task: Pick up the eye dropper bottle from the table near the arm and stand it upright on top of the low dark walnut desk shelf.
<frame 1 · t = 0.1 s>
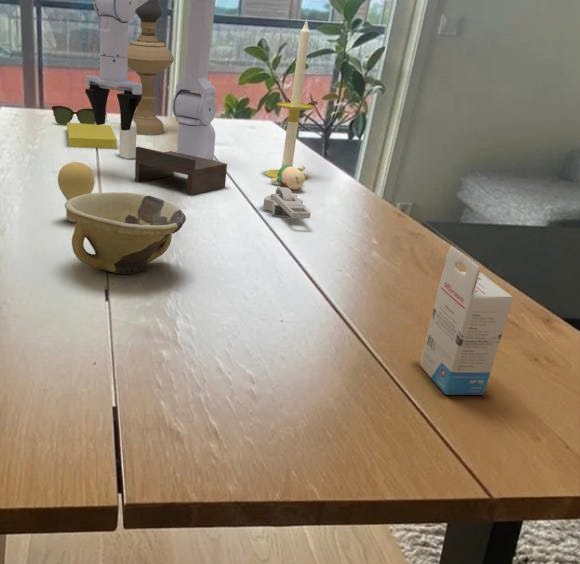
hand: (112, 127, 166), 10 cm above the table, tool pointing down, fingers open, 7 cm apart
light bulb: (76, 221, 139), on the table
zipper pull: (287, 218, 150), on the table
shelf: (179, 184, 169), on the table
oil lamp: (144, 132, 224), on the table
ink box: (449, 381, 91), on the table
flat olive board: (90, 140, 208), on the table
sunglasses: (81, 123, 230), on the table
bowl: (124, 269, 118), on the table
candle: (285, 176, 184), on the table
toy figurine: (287, 187, 173), on the table
eye dropper bottle: (127, 157, 191), on the table
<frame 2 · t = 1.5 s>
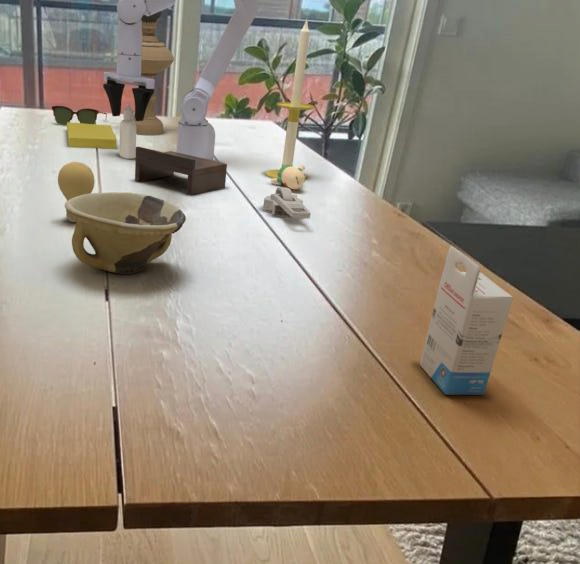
hand: (127, 118, 185), 9 cm above the table, tool pointing down, fingers open, 7 cm apart
nothing on the table moved.
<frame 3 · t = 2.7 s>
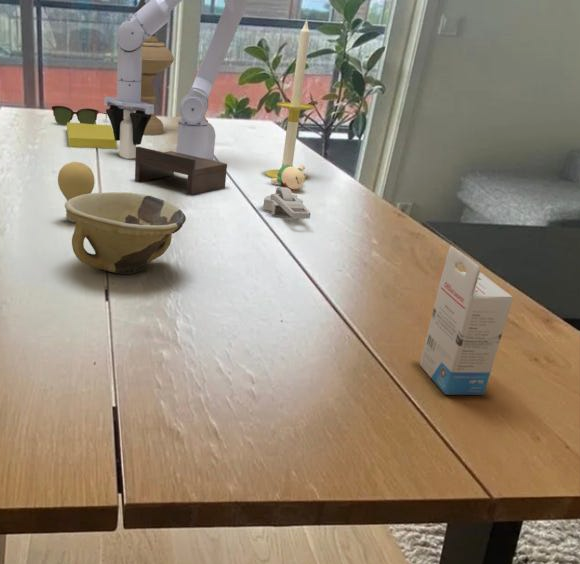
hand: (127, 142, 189), 3 cm above the table, tool pointing down, fingers closed on eye dropper bottle, 5 cm apart
eye dropper bottle: (127, 157, 191), on the table, touching gripper
everything else where it was.
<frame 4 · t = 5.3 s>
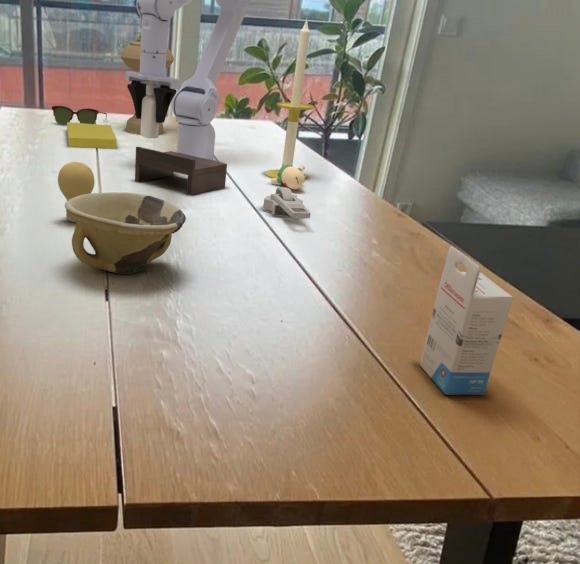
hand: (150, 120, 175), 10 cm above the table, tool pointing down, fingers closed on eye dropper bottle, 5 cm apart
eye dropper bottle: (149, 137, 177), point 7 cm above the table, touching gripper
everything else where it was.
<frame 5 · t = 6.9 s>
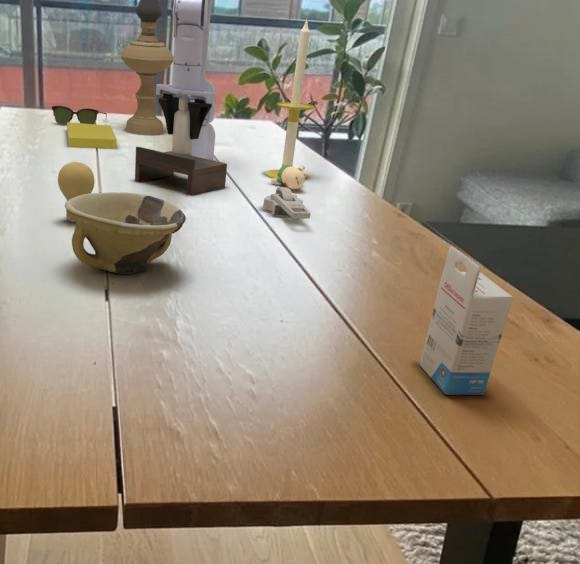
hand: (182, 136, 163), 10 cm above the table, tool pointing down, fingers closed on eye dropper bottle, 5 cm apart
eye dropper bottle: (181, 154, 165), point 6 cm above the table, touching gripper
everything else where it was.
when the fingers open (8 cm above the table, at t = 7.9 s): eye dropper bottle stays where it is, resting on shelf.
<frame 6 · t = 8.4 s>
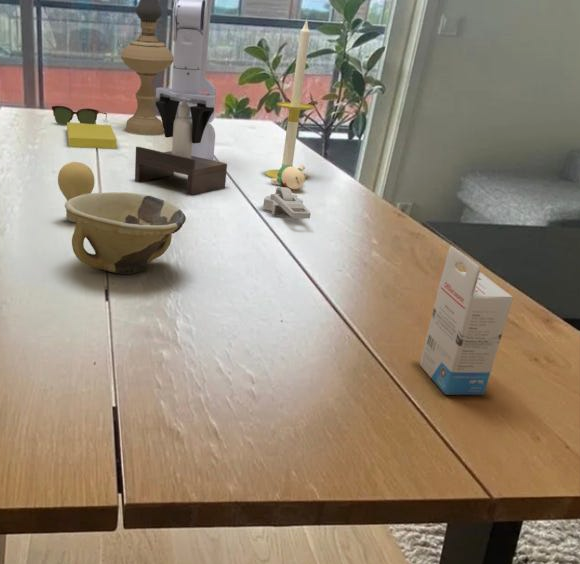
hand: (182, 139, 164), 9 cm above the table, tool pointing down, fingers open, 7 cm apart
eye dropper bottle: (181, 161, 166), point 5 cm above the table, touching shelf
everything else where it was.
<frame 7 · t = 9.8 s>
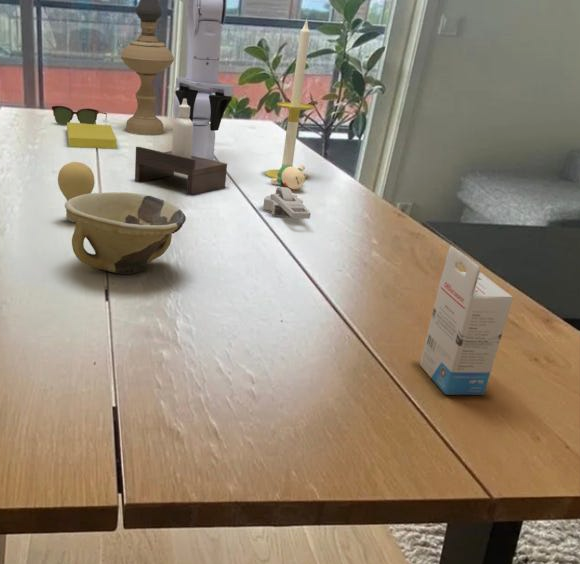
hand: (200, 127, 171), 10 cm above the table, tool pointing down, fingers open, 7 cm apart
nothing on the table moved.
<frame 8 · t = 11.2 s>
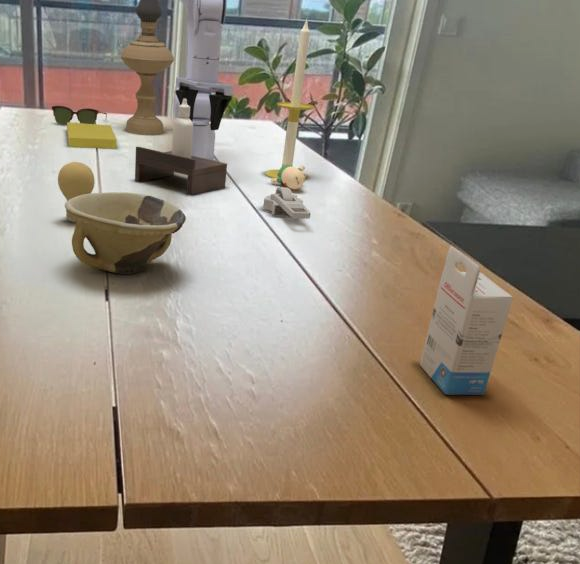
hand: (201, 127, 171), 10 cm above the table, tool pointing down, fingers open, 7 cm apart
nothing on the table moved.
at the end: eye dropper bottle inside the target area on the shelf (0.1 cm from its centre), point 4.8 cm above the shelf's base; eye dropper bottle tilted 0°; the gripper is holding nothing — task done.
